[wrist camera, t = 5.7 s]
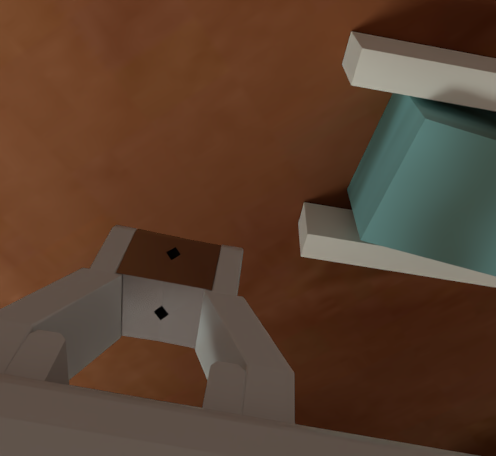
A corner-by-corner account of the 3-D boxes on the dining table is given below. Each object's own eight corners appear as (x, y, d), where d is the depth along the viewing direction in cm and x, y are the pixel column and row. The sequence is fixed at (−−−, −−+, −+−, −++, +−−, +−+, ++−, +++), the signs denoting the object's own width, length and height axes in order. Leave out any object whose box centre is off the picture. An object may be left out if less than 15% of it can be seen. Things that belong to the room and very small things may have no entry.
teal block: (346, 187, 21) (360, 240, 17) (397, 80, 18) (425, 118, 15) (467, 221, 21) (502, 278, 18) (534, 123, 19) (590, 169, 15)
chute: (298, 223, 22) (300, 256, 20) (351, 31, 17) (362, 48, 15) (580, 269, 22) (611, 305, 20) (709, 98, 17) (767, 123, 15)
